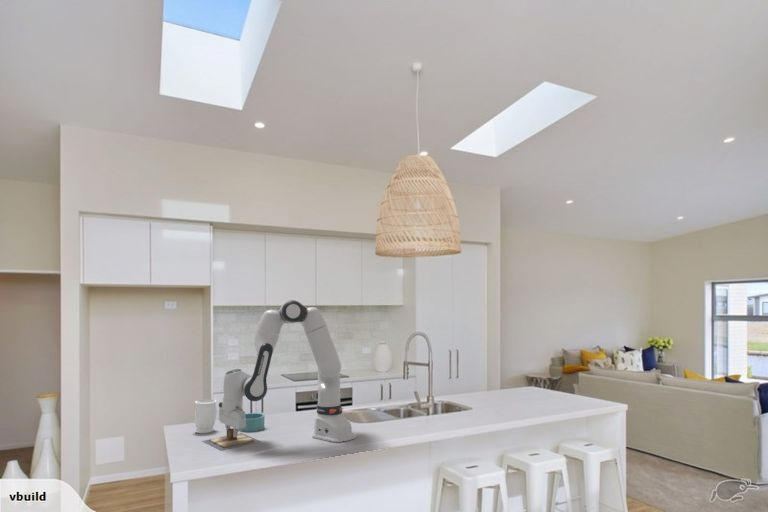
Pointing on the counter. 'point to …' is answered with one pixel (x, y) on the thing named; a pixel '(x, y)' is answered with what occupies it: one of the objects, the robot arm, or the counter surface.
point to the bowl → (254, 422)
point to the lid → (231, 439)
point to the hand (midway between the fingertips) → (231, 435)
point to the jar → (205, 415)
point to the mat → (232, 446)
